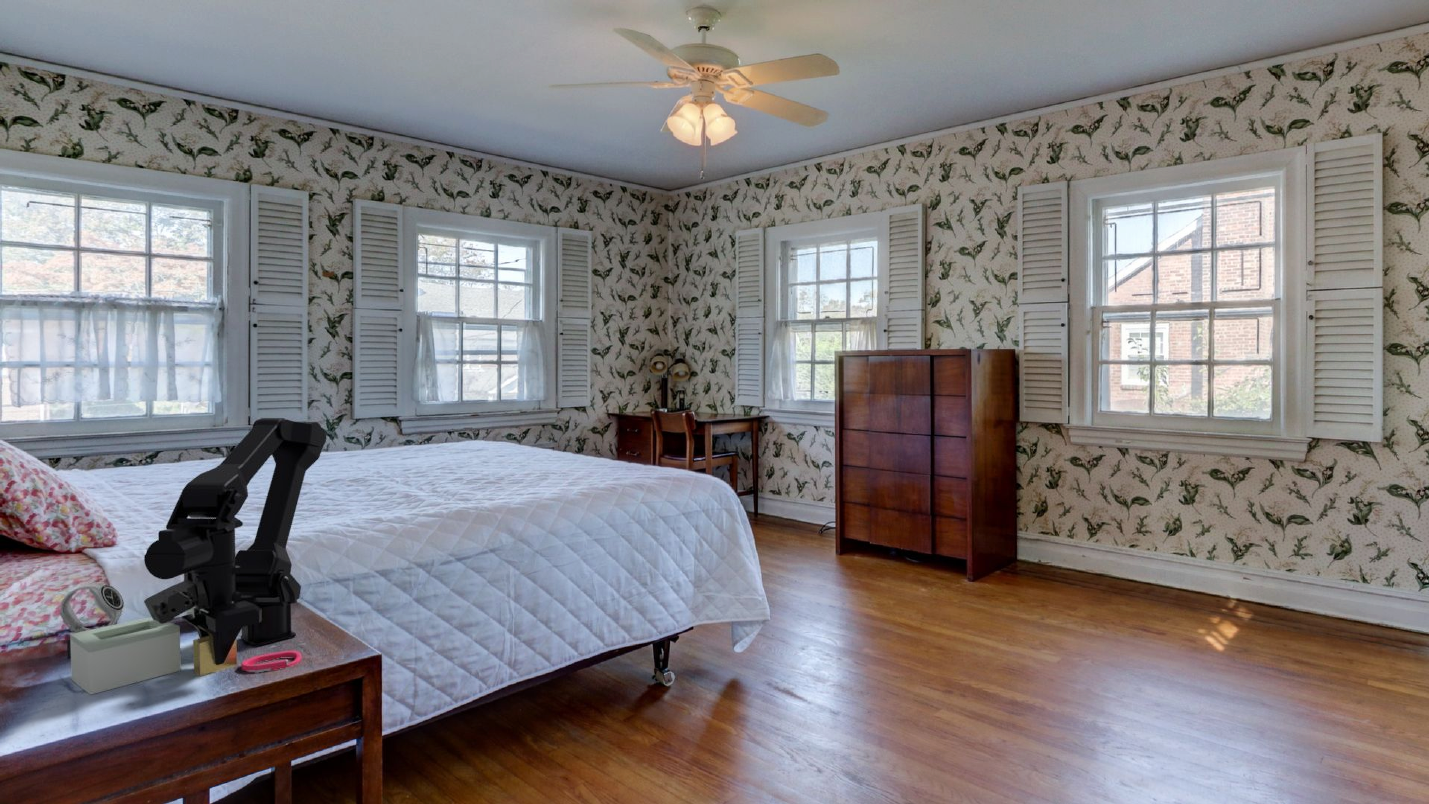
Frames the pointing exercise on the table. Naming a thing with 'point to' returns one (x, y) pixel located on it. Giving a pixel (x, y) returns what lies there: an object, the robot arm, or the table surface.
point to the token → (210, 657)
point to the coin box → (124, 654)
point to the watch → (104, 599)
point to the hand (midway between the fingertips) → (215, 662)
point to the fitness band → (271, 666)
